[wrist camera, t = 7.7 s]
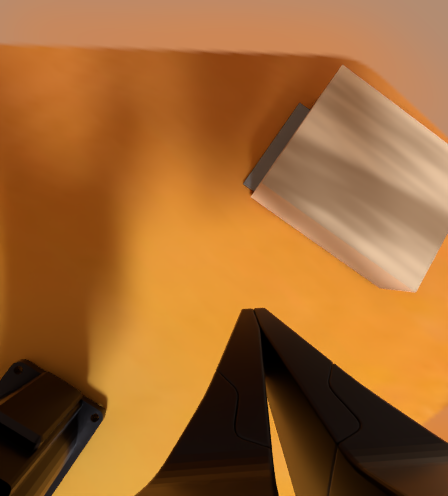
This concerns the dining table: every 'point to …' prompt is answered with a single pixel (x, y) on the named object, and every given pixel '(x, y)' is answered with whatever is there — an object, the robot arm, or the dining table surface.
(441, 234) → the beige streaked flat block
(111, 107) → the dining table surface
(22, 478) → the robot arm
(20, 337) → the dining table surface
